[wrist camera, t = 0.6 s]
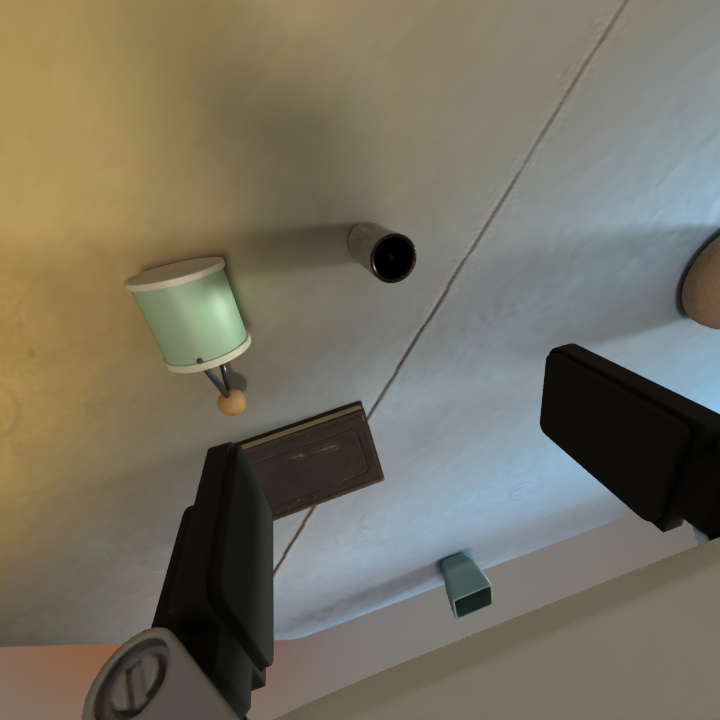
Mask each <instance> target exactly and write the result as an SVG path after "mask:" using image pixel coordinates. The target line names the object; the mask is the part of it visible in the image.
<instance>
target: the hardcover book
mask: <svg viewBox="0 0 720 720" xmlns="http://www.w3.org/2000/svg"><path fill="white" fill-rule="evenodd" d="M238 445H241V447H242V448H243V450H244V453H245V455H246V457H247V459H248V461H249V463H250V466H251V468H252V470H253V472H254V474H255V476H256V479H257V481H258V483H259V485H260V487H261V490H262V492H263V494H264V496H265V498H266V500H267V503H268V505H269V507H270V509H271V512H272V517H273V521H274V520H277V519H280V518H283V517H285V516H288V515H291V514H293V513H296V512H299V511H302V510H304V509H307V508H310V507H312V506H315V505H318V504H321V503H323V502H326V501H329V500H332V499H334V498H337V497H340V496H342V495H345V494H348V493H351V492H353V491H356V490H359V489H361V488H364V487H367V486H370V485H372V484H375V483H378V482H380V481H383V480H385V479H384V475H383V472H382V469H381V465H380V462H379V458H378V455H377V452H376V448H375V445H374V441H373V438H372V434H371V431H370V428H369V424H368V421H367V417H366V414H365V411H364V408H363V407H362V403H361V401H358V402H355V403H353V404H350V405H347V406H344V407H341V408H338V409H335V410H332V411H329V412H326V413H323V414H320V415H318V416H315V417H312V418H309V419H306V420H303V421H300V422H297V423H294V424H291V425H288V426H285V427H283V428H280V429H277V430H274V431H271V432H268V433H265V434H262V435H259V436H256V437H253V438H250V439H248V440H245V441H242V442H239V443H236V444H234V446H238Z"/></svg>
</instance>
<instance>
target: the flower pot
mask: <svg viewBox="0 0 720 720" xmlns="http://www.w3.org/2000/svg"><path fill="white" fill-rule="evenodd" d="M442 570H443V576H444V581H445V587H446V592H447V596H448V599H449V602H450V605H451V607H452V610H453V613H454V616H455V619H460V618H462V617H464V616H467V615H469V614H472V613H474V612H476V611H479V610H481V609H483V608H486V607H488V606H490V605H492V604H493V590H492V584H491V583H490V581H489V580H488V578H487V577H486V576H485V574H484V573H483V571H482V570H481V568H480V567H479V566H478V564H477V563H476V562H475V561H474V560H473V559H472V558H471V557H469V556H468V555H466V554H464V553H459V554H457V555H454V556H452V557H449V558H447V559H444V560H443V561H442Z"/></svg>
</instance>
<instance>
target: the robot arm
mask: <svg viewBox="0 0 720 720" xmlns="http://www.w3.org/2000/svg"><path fill="white" fill-rule="evenodd" d="M540 427H541V429H542V431H543V432H544V434H545V435H546V436H548V437H549V438H550V439H551V440H552V441H553V442H554V443H556V444H557V445H558V446H559V447H560V448H561V449H563V450H564V451H565V452H566V453H567V454H568V455H569V456H571V457H572V458H573V459H574V460H575V461H576V462H577V463H579V464H580V465H581V466H582V467H583V468H584V469H586V470H587V471H588V472H589V473H590V474H591V475H592V476H594V477H595V478H596V479H597V480H598V481H599V482H600V483H602V484H603V485H604V486H605V487H606V488H607V489H608V490H610V491H611V492H612V493H613V494H614V495H615V496H617V497H618V498H619V499H620V500H621V501H622V502H623V503H625V504H626V505H627V506H628V507H629V508H630V509H631V510H633V511H634V512H635V513H636V514H637V515H638V516H640V517H641V518H642V519H644V520H646V521H650V522H652V523H653V524H654V525H655V526H656V527H657V528H659V529H660V530H661V531H662V532H666V531H668V530H671V529H673V528H676V527H679V526H681V525H682V523H683V521H684V519H685V520H686V521H687V522H688V523H690V524H691V525H692V528H693V531H694V534H695V536H696V539H697V542H698V546H696V547H693V548H691V549H688V550H685V551H683V552H680V553H678V554H675V555H673V556H670V557H667V558H665V559H662V560H660V561H657V562H655V563H652V564H650V565H647V566H644V567H642V568H639V569H637V570H634V571H632V572H629V573H627V574H624V575H622V576H619V577H617V578H614V579H612V580H609V581H606V582H604V583H601V584H599V585H596V586H594V587H591V588H589V589H586V590H584V591H581V592H579V593H576V594H573V595H571V596H568V597H566V598H564V599H561V600H559V601H556V602H553V603H551V604H549V605H546V606H543V607H541V608H538V609H536V610H533V611H531V612H528V613H526V614H523V615H521V616H518V617H516V618H513V619H511V620H508V621H506V622H503V623H501V624H498V625H496V626H493V627H491V628H488V629H486V630H484V631H481V632H478V633H476V634H473V635H471V636H468V637H466V638H464V639H461V640H458V641H456V642H454V643H451V644H449V645H446V646H444V647H441V648H439V649H436V650H434V651H431V652H429V653H426V654H424V655H421V656H419V657H416V658H414V659H411V660H409V661H406V662H404V663H401V664H399V665H396V666H394V667H392V668H389V669H387V670H384V671H382V672H380V673H378V674H375V675H373V676H370V677H368V678H366V679H363V680H361V681H359V682H357V683H354V684H352V685H349V686H347V687H345V688H342V689H340V690H338V691H335V692H333V693H330V694H328V695H326V696H323V697H321V698H319V699H316V700H314V701H312V702H310V703H307V704H305V705H303V706H301V707H299V708H297V709H295V710H293V711H291V712H289V713H287V714H285V715H283V716H281V717H279V718H277V719H275V720H720V414H718V413H716V412H714V411H712V410H710V409H708V408H706V407H704V406H702V405H700V404H698V403H696V402H694V401H692V400H690V399H687V398H685V397H683V396H681V395H679V394H677V393H675V392H673V391H671V390H669V389H667V388H665V387H663V386H661V385H659V384H657V383H655V382H652V381H650V380H648V379H646V378H644V377H642V376H640V375H638V374H636V373H634V372H632V371H630V370H628V369H626V368H624V367H622V366H620V365H617V364H615V363H613V362H611V361H609V360H607V359H605V358H603V357H601V356H599V355H597V354H595V353H593V352H591V351H589V350H587V349H585V348H583V347H580V346H578V345H576V344H573V343H572V344H567V345H563V346H560V347H556V348H554V349H552V350H551V351H550V354H549V355H548V356H547V358H546V365H545V376H544V386H543V396H542V406H541V416H540ZM273 641H274V638H273V517H272V512H271V509H270V507H269V505H268V503H267V500H266V498H265V496H264V494H263V492H262V490H261V487H260V485H259V483H258V481H257V479H256V476H255V474H254V472H253V470H252V468H251V466H250V463H249V461H248V459H247V457H246V455H245V453H244V450H243V448H242V447H241V445H238V446H234V444H233V443H232V442H229V443H225V444H222V445H219V446H215V447H212V448H209V449H208V452H207V456H206V460H205V464H204V468H203V472H202V476H201V479H200V483H199V487H198V491H197V495H196V499H195V503H194V505H193V506H190V507H188V508H187V509H186V510H185V512H184V514H183V516H182V520H181V524H180V527H179V531H178V534H177V538H176V541H175V545H174V549H173V552H172V556H171V559H170V563H169V566H168V570H167V573H166V577H165V581H164V584H163V588H162V591H161V595H160V598H159V602H158V606H157V609H156V613H155V616H154V620H153V623H152V627H151V629H148V630H144V631H142V632H141V633H139V634H137V635H135V636H133V637H132V638H130V639H129V640H128V641H127V642H125V643H124V644H123V645H122V646H121V647H120V648H118V649H117V650H116V651H115V653H114V654H113V655H112V656H111V657H110V658H109V659H108V661H107V662H106V663H105V664H104V665H103V667H102V669H101V670H100V672H99V673H98V675H97V677H96V678H95V679H94V681H93V683H92V685H91V688H90V690H89V692H88V695H87V697H86V699H85V704H84V709H83V714H82V720H250V719H249V718H248V717H247V716H246V714H247V712H248V711H249V709H250V707H251V691H253V690H255V689H258V688H261V687H263V686H265V683H266V682H265V680H266V667H268V666H271V665H272V663H273V655H274V651H273V650H274V643H273Z"/></svg>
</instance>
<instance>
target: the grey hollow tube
mask: <svg viewBox="0 0 720 720" xmlns="http://www.w3.org/2000/svg"><path fill="white" fill-rule="evenodd" d="M348 248H349V251H350V253H351V255H352V256H353V257H354V258H355V259H356V260H357V261H358V262H359V263H360V264H362V265H363V266H364V267H365V268H366V269H367V270H369V271H370V272H371V273H372V274H373V275H374V276H375V277H377V278H378V279H379V280H381V281H383V282H386V283H396V282H399V281H402V280H403V279H405V278H406V277H407V276H408V275H409V274H410V273H411V272H412V270H413V268H414V266H415V263H416V249H415V246H414V244H413V242H412V241H411V240H410V239H409V238H408V237H407V236H405V235H403V234H401V233H398V232H396V231H393V230H390V229H388V228H385V227H382V226H379V225H377V224H374V223H369V222H365V223H361V224H359V225H357V226H356V227H355V228H354V229H353V230H352V231H351V233H350V235H349V238H348Z"/></svg>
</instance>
